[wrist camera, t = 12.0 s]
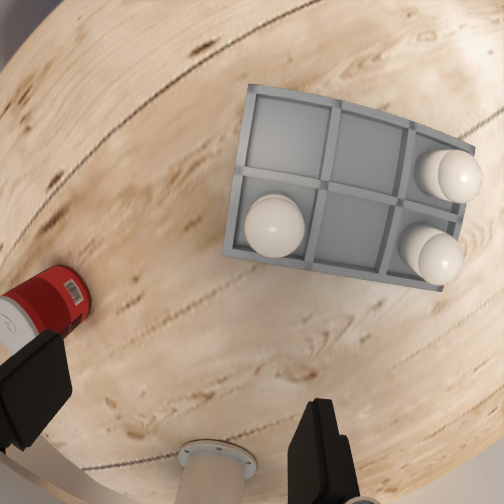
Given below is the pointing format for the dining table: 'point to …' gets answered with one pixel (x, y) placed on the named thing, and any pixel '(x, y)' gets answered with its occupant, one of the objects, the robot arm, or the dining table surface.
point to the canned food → (43, 307)
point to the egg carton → (337, 183)
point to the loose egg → (274, 225)
